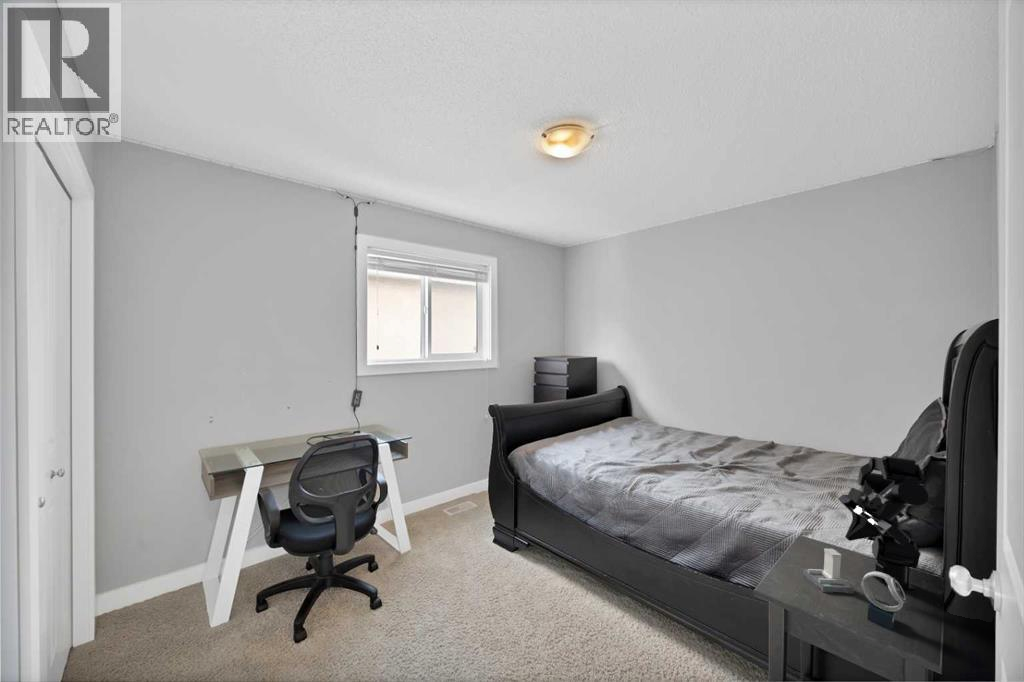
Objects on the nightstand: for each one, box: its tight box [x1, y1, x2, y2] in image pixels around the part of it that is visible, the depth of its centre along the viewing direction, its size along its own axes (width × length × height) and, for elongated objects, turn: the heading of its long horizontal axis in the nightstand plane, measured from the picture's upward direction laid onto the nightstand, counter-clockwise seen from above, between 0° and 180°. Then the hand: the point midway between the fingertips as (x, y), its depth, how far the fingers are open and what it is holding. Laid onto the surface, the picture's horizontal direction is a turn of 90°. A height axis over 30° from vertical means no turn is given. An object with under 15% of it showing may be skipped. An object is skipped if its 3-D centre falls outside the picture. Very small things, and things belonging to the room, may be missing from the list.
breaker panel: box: [802, 568, 855, 594], centre depth 115 cm, size 8×8×2 cm
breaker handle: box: [822, 548, 843, 579], centre depth 114 cm, size 3×3×7 cm
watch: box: [861, 570, 907, 631], centre depth 100 cm, size 6×8×11 cm
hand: (847, 538), depth 115 cm, fingers closed
